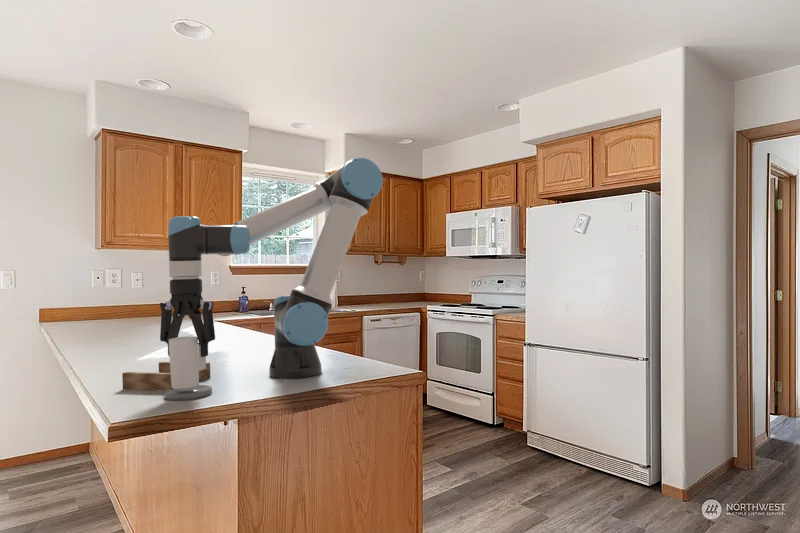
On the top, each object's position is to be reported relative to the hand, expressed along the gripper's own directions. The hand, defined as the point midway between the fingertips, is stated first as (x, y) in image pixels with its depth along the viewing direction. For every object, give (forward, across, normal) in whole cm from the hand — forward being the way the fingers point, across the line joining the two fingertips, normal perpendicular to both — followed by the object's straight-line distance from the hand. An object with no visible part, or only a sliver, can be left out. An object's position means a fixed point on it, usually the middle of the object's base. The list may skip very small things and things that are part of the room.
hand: (188, 369), depth 129 cm
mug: (+4, 0, 0) cm, 4 cm away
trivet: (+6, 0, 0) cm, 6 cm away
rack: (+6, +14, -11) cm, 19 cm away
